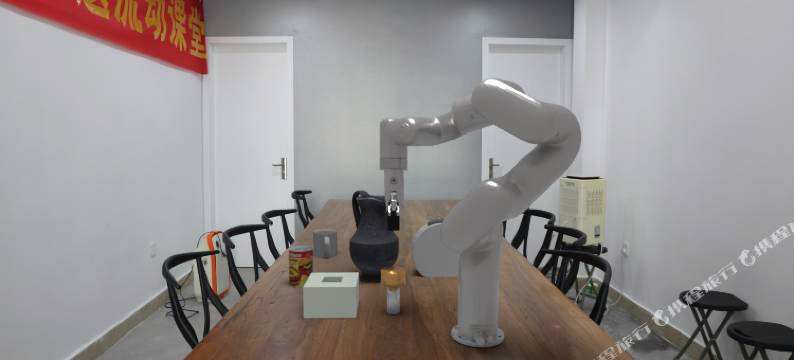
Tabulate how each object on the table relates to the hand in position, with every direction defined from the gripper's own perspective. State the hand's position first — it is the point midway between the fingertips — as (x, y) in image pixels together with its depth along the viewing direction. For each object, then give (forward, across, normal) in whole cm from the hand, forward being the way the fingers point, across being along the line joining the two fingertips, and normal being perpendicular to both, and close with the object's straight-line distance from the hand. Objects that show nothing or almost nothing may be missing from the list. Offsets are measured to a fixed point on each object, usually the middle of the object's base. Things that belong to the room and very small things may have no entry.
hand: (393, 227), depth 127 cm
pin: (+24, 0, 0) cm, 24 cm away
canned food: (+24, +27, +30) cm, 47 cm away
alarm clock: (+24, +38, -18) cm, 48 cm away
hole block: (+24, +3, +17) cm, 29 cm away
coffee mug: (+24, +66, +27) cm, 75 cm away
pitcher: (+24, +35, +7) cm, 43 cm away
